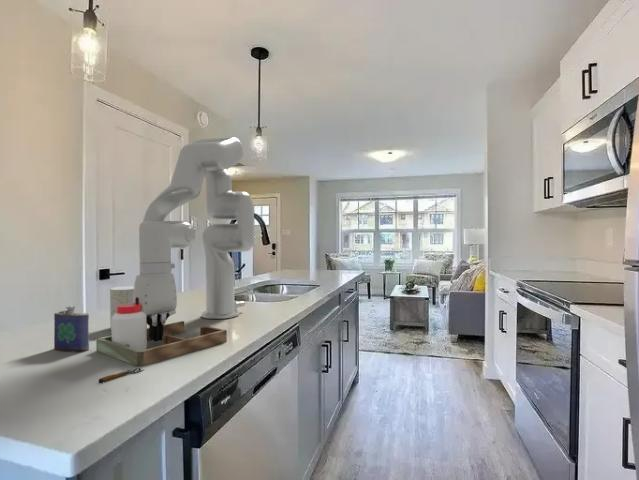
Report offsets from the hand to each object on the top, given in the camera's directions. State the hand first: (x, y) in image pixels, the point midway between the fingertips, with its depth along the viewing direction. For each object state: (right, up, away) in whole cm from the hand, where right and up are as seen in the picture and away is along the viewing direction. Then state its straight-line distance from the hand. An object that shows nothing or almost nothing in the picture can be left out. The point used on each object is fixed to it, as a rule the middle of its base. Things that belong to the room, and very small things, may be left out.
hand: (156, 340), depth 102 cm
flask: (-19, -1, -5) cm, 20 cm away
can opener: (+3, -2, -23) cm, 24 cm away
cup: (-17, -1, +18) cm, 25 cm away
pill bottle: (-4, -1, -6) cm, 7 cm away
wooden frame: (+3, -1, -2) cm, 4 cm away
